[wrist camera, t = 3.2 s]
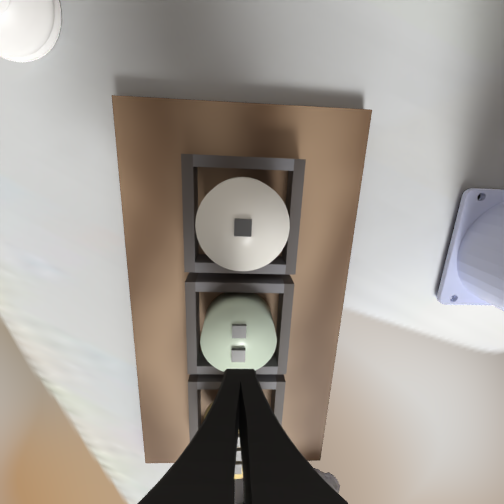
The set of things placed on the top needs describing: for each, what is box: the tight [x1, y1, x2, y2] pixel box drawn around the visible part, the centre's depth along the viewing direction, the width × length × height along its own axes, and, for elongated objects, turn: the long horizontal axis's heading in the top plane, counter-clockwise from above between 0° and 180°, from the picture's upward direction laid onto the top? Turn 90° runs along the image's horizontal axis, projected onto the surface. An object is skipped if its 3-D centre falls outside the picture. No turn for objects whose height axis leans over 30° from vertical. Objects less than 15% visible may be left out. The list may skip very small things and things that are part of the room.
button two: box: [200, 292, 277, 372], centre depth 17 cm, size 4×4×3 cm
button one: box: [195, 177, 290, 271], centre depth 14 cm, size 4×4×3 cm
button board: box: [112, 95, 372, 463], centre depth 19 cm, size 14×26×3 cm, turn 178°
